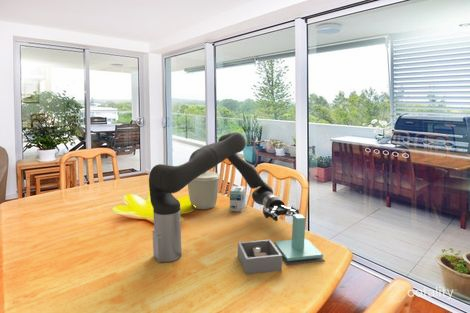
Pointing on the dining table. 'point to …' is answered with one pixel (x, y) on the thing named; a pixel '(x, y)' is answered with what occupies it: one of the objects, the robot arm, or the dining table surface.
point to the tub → (259, 263)
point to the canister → (204, 190)
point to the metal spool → (256, 250)
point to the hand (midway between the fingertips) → (287, 218)
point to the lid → (298, 243)
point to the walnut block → (260, 254)
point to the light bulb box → (237, 198)
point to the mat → (301, 260)
